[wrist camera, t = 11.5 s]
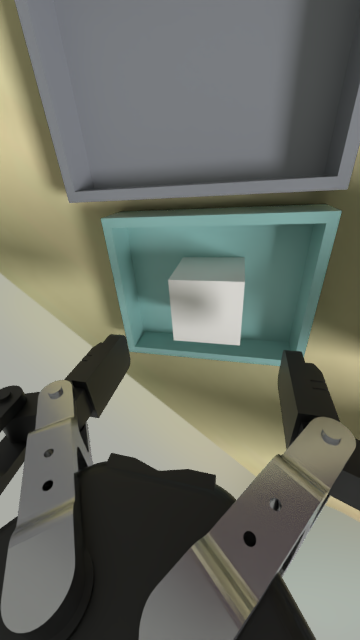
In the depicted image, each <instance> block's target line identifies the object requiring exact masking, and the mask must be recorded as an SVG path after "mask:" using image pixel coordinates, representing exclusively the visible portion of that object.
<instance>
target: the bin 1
mask: <svg viewBox="0 0 360 640" xmlns="http://www.w3.org/2000/svg"><path fill="white" fill-rule="evenodd" d="M15 4H16V8H17V11H18V15H19V19H20V22H21V26H22V30H23V34H24V37H25V41H26V45H27V48H28V52H29V56H30V60H31V63H32V67H33V71H34V74H35V78H36V82H37V85H38V89H39V93H40V97H41V100H42V104H43V108H44V111H45V115H46V119H47V123H48V126H49V130H50V134H51V137H52V141H53V145H54V148H55V152H56V156H57V160H58V163H59V167H60V171H61V174H62V178H63V182H64V185H65V189H66V193H67V197H68V200H69V203H77V202H97V201H118V200H139V199H159V198H180V197H201V196H221V195H242V194H263V193H283V192H304V191H325V190H345V189H348V186H349V182H350V178H351V175H352V171H353V167H354V163H355V159H356V156H357V152H358V148H359V144H360V0H15Z"/></svg>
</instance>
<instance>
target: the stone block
mask: <svg viewBox="0 0 360 640" xmlns="http://www.w3.org/2000/svg"><path fill="white" fill-rule="evenodd" d="M168 284H169V295H170V305H171V316H172V326H173V337H174V340H177V341H190V342H202V343H215V344H227V345H239V346H240V337H241V325H242V312H243V300H244V287H245V257H183V258H182V260H181V261H180V263H179V264H178V266H177V267H176V269H175V270H174V272H173V273H172V275H171V276H170V278H169V279H168Z"/></svg>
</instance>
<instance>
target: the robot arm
mask: <svg viewBox="0 0 360 640" xmlns="http://www.w3.org/2000/svg"><path fill="white" fill-rule="evenodd" d="M129 366H130V354H129V349H128V345H127V340H126V337H125V336H124V335H113V334H111V335H109V336H108V337H107V338H106V340H105V341H104V342H103V343H99V344H98V345H96V346H95V347H93V348H92V349H91V350H90V351H89V352H88V354H87V355H86V356H85V357H84V358H83V359H82V361H80V363H79V364H78V365H77V366H76V367H75V368H74V369H73V370H72V372H71V373H70V374H69V375H68V376H67V377H66V378H65V380H59V381H55V382H52V383H50V384H49V385H47V386H46V387H44V388H43V389H42V390H41V392H36V393H27V394H24V392H23V390H22V389H21V388H20V387H19V386H8V387H5V388H3V389H0V432H1V431H2V430H3V431H4V433H5V434H6V436H5V437H4V438H3V440H2V441H1V442H0V495H1V493H2V492H3V491H4V489H5V488H6V486H7V485H8V484H9V482H10V481H11V479H12V478H13V477H14V475H15V474H16V472H17V471H18V469H19V468H20V467H21V465H22V464H23V462H24V469H23V477H22V486H21V495H20V502H19V511H18V516H17V517H16V518H14V519H13V520H12V521H10V522H9V523H8V524H6V525H5V526H3V527H2V528H1V529H0V640H316V638H315V637H314V635H313V633H312V631H311V629H310V628H309V626H308V624H307V622H306V620H305V619H304V617H303V615H302V613H301V611H300V610H299V608H298V606H297V604H296V602H295V600H294V599H293V597H292V595H291V593H290V591H289V590H288V588H287V586H286V584H285V582H284V580H283V579H282V576H283V575H284V573H285V572H286V570H287V568H288V567H289V565H290V563H291V562H292V560H293V558H294V557H295V555H296V553H297V552H298V550H299V548H300V546H301V545H302V543H303V541H304V539H305V538H306V536H307V534H308V532H309V531H310V529H311V527H312V526H313V524H314V522H315V521H316V519H317V518H318V516H319V514H320V513H321V511H322V509H323V507H324V506H325V504H326V503H327V501H328V499H329V498H330V496H332V497H334V498H336V499H338V500H340V501H342V502H344V503H346V504H348V505H350V506H352V507H353V508H355V509H357V510H359V511H360V441H359V440H357V439H356V438H355V437H354V435H353V434H352V432H351V431H350V430H349V429H348V428H347V427H346V426H345V425H343V424H342V423H340V420H339V418H338V415H337V412H336V409H335V407H334V404H333V401H332V399H331V396H330V393H329V391H328V388H327V385H326V383H325V379H324V377H323V374H322V372H321V371H320V370H319V369H318V368H317V367H316V366H315V365H314V364H312V363H305V361H304V357H303V354H302V352H301V351H291V350H283V353H282V358H281V364H280V369H279V374H278V390H279V398H280V405H281V412H282V419H283V426H284V434H285V441H286V448H287V450H286V451H285V453H284V454H283V455H279V454H278V455H276V456H275V457H274V458H273V459H272V460H271V461H270V462H269V463H268V464H267V466H266V467H265V468H264V469H263V470H262V471H261V473H260V474H259V475H258V476H257V477H256V478H255V479H254V481H253V482H252V483H251V484H250V485H249V487H248V488H247V489H246V490H245V491H244V492H243V493H242V494H241V496H240V497H239V498H238V499H237V500H236V499H235V498H234V497H233V496H232V495H231V494H230V493H228V492H227V491H226V490H224V489H223V488H222V487H220V486H218V485H216V475H213V474H208V473H203V472H199V471H194V470H189V469H184V470H167V471H158V470H156V469H154V468H152V467H150V466H149V465H147V464H145V463H143V462H141V461H140V460H138V459H136V458H133V457H128V456H123V455H119V454H114V453H111V455H110V457H109V459H108V461H107V462H101V463H97V464H93V461H92V455H91V447H90V440H89V431H88V424H87V422H86V421H87V420H88V418H89V417H96V418H99V417H100V415H101V413H102V412H103V410H104V408H105V407H106V405H107V403H108V402H109V400H110V399H111V397H112V395H113V394H114V392H115V390H116V389H117V387H118V385H119V383H120V382H121V380H122V379H123V377H124V375H125V374H126V372H127V370H128V369H129Z"/></svg>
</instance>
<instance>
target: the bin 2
mask: <svg viewBox="0 0 360 640" xmlns="http://www.w3.org/2000/svg"><path fill="white" fill-rule="evenodd" d="M341 213H342V211H341V210H339V209H337V208H334V207H332V206H330V205H328V204H308V205H282V206H255V207H229V208H202V209H175V210H149V211H122V212H118V213H115V214H112V215H109V216H106V217H104V218H101V222H102V227H103V231H104V236H105V241H106V245H107V250H108V254H109V259H110V264H111V268H112V273H113V278H114V282H115V287H116V292H117V296H118V301H119V306H120V310H121V315H122V319H123V324H124V329H125V333H126V338H127V343H128V347H129V352H139V353H149V354H159V355H170V356H180V357H190V358H201V359H211V360H221V361H232V362H242V363H252V364H263V365H273V366H280V364H281V358H282V353H283V350H291V351H301V352H302V354H303V357H304V354H305V350H306V347H307V343H308V339H309V335H310V331H311V327H312V324H313V320H314V316H315V312H316V308H317V304H318V301H319V297H320V293H321V289H322V285H323V282H324V278H325V274H326V270H327V266H328V262H329V259H330V255H331V251H332V247H333V243H334V240H335V236H336V232H337V228H338V224H339V220H340V217H341ZM183 257H245V287H244V300H243V312H242V325H241V337H240V346H239V345H227V344H215V343H202V342H190V341H177V340H174V337H173V326H172V316H171V305H170V295H169V284H168V279H169V278H170V276H171V275H172V273H173V272H174V270H175V269H176V267H177V266H178V264H179V263H180V261H181V260H182V258H183Z"/></svg>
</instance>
